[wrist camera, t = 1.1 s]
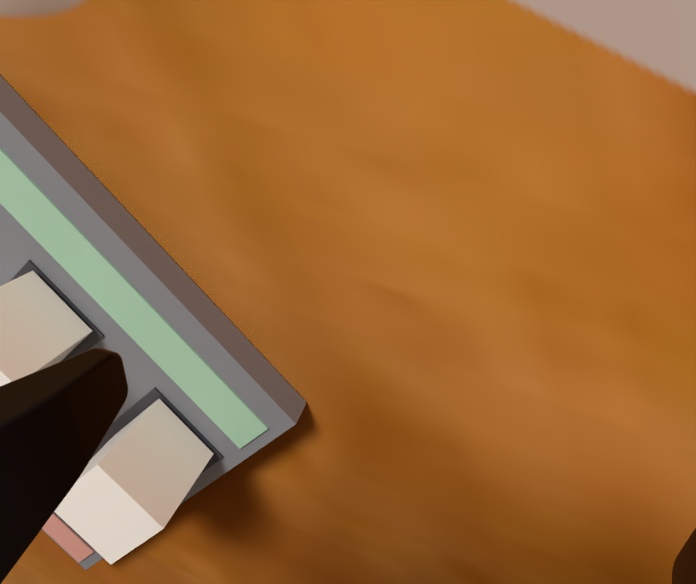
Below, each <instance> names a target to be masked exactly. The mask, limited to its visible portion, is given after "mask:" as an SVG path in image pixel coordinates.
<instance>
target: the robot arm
mask: <svg viewBox="0 0 696 584" xmlns="http://www.w3.org/2000/svg"><path fill="white" fill-rule="evenodd" d="M127 395H128V384H127V379H126V374H125V370H124V365H123V361H122V358H121V356H120V355H119V354H118V353H116V352H113V351H110V350H107V349H103V348H93V349H90V350H88V351H85V352H83V353H81V354H78V355H76V356H73V357H71V358H68V359H66V360H63V361H61V362H59V363H56V364H54V365H51V366H49V367H46V368H44V369H41V370H39V371H37V372H34V373H32V374H29V375H27V376H24V377H22V378H20V379H17V380H15V381H12V382H10V383H7V384H5V385H2V386H0V584H1V583H2V581H3V580H4V579H5V577H6V576H7V575H8V573H9V572H10V570H11V569H12V568H13V566H14V565H15V564H16V562H17V561H18V560H19V558H20V557H21V556H22V554H23V553H24V552H25V550H26V549H27V548H28V546H29V545H30V544H31V542H32V541H33V540H34V538H35V537H36V536H37V534H38V533H39V531H40V530H41V529H42V527H43V526H44V525H45V523H46V522H47V521H48V519H49V518H50V517H51V515H52V514H53V513H54V511H55V510H56V509H57V507H58V506H59V505H60V503H61V502H62V501H63V499H64V498H65V497H66V495H67V494H68V492H69V491H70V490H71V488H72V487H73V486H74V484H75V483H76V481H77V480H78V478H79V477H80V475H81V474H82V472H83V471H84V469H85V468H86V466H87V465H88V463H89V461H90V460H91V458H92V456H93V455H94V453H95V451H96V450H97V448H98V446H99V445H100V443H101V441H102V440H103V438H104V436H105V435H106V433H107V431H108V430H109V428H110V426H111V425H112V423H113V421H114V420H115V418H116V416H117V415H118V413H119V411H120V410H121V408H122V406H123V404H124V403H125V401H126V398H127ZM672 584H696V528H695V530H694V531H693V532H692V534H691V535H690V537H689V539H688V540H687V542H686V543H685V545H684V546H683V548H682V549H681V551H680V552H679V554H678V555H677V557H676V559H675V562H674V566H673V571H672Z"/></svg>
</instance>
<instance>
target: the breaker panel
mask: <svg viewBox="0 0 696 584" xmlns="http://www.w3.org/2000/svg"><path fill="white" fill-rule="evenodd" d="M31 271H34V272H35V273H36V274H37V275H38V276H39V277H40V278H41V279H42V280H43V281H44V282H45V283H46V284H47V285H48V286H49V287H50V288H51V289H52V290H53V291H54V292H55V293H56V294H57V296H58V297H59V298H60V299H61V300H62V301H63V302H64V303H65V304H66V305H67V306H68V307H69V308H70V309H71V310H72V311H73V312H74V313H75V314H76V315H77V316H78V317H79V318H80V319H81V320H82V321H83V322H84V323H85V324H86V325H87V326H88V327H89V328H90V329H91V330H92V332H91V333H90V334H89V335H88V336H87V337H86V338H85V339H84V340H82V341H81V342H80V343H79V344H78V345H77V346H76V347H75V348H74V349H73V350H72V351H71V352H70V353H69V354H68V355H67V356H66V357H65V358H64V359H63V360H66V359H68V358H71V357H73V356H76V355H78V354H81V353H83V352H85V351H88V350H90V349H93V348H103V349H107V350H110V351H113V352H116V353H118V354H119V355H120V356H121V358H122V361H123V365H124V370H125V374H126V379H127V384H128V395H127V398H126V401H125V403H124V404H123V406H122V408H121V410H120V411H119V413H118V415H117V416H116V418H115V420H114V421H113V423H112V425H111V426H110V428H109V430H108V431H107V433H106V435H105V436H104V438H103V440H102V441H101V443H100V445H99V446H98V448H97V450H96V451H95V453H94V455H93V456H92V458H93V457H94V456H95V455H96V454H97V452H98V451H99V450H100V449H101V448H102V447H103V446H104V445H105V444H106V443H107V442H108V441H109V440H110V439H111V438H112V437H113V436H114V435H115V434H116V433H118V432H119V431H120V430H121V429H122V428H124V427H125V426H126V425H127V424H129V423H130V422H131V421H132V420H133V419H135V418H136V417H137V416H138V415H139V414H141V413H142V412H143V411H144V410H146V409H147V408H148V407H149V406H150V405H152V404H153V403H154V402H155V401H156V400H158V399H160V400H161V401H162V402H163V403H164V404H165V405H166V406H167V407H168V408H169V409H170V410H171V411H172V412H173V413H174V414H175V415H176V416H177V417H178V418H179V419H180V420H181V421H182V422H183V423H184V424H185V425H186V426H187V427H188V428H189V429H190V430H191V431H192V432H193V433H194V434H195V435H196V436H197V437H198V438H199V439H200V440H201V442H202V443H203V444H204V445H205V446H206V447H207V448H208V449H209V450H210V451H211V452H212V453H213V456H212V457H211V459H210V460H209V462H208V463H207V465H206V466H205V468H204V469H203V471H202V472H201V474H200V475H199V477H198V478H197V480H196V481H195V483H194V484H193V486H192V487H191V489H190V490H189V491H188V493H187V494H186V496H185V497H184V499H183V500H182V502H181V503H180V504H182V503H183V502H184V501H186V500H187V499H189V498H190V497H192V496H193V495H195V494H196V493H197V492H199V491H200V490H202V489H203V488H205V487H206V486H208V485H209V484H210V483H212V482H213V481H215V480H216V479H218V478H219V477H221V476H222V475H223V474H225V473H226V472H228V471H229V470H231V469H232V468H234V467H235V466H236V465H238V464H239V463H241V462H242V461H244V460H245V459H247V458H248V457H249V456H251V455H252V454H254V453H255V452H257V451H258V450H260V449H261V448H262V447H264V446H265V445H267V444H268V443H270V442H271V441H272V440H274V439H275V438H277V437H278V436H280V435H281V434H283V433H284V432H285V431H287V430H288V429H290V428H291V427H293V426H294V425H296V423H297V421H298V419H299V417H300V415H301V413H302V411H303V409H304V407H305V405H306V403H307V402H306V401H305V400H304V399H303V398H302V397H301V396H300V395H299V394H298V393H297V392H296V391H295V390H294V388H293V387H292V386H291V385H290V384H289V383H288V382H287V381H286V380H285V379H284V378H283V377H282V376H281V375H280V374H279V372H278V371H277V370H276V369H275V368H274V367H273V366H272V365H271V364H270V363H269V362H268V361H267V360H266V359H265V357H264V356H263V355H262V354H261V353H260V352H259V351H258V350H257V349H256V348H255V347H254V346H253V345H252V344H251V343H250V341H249V340H248V339H247V338H246V337H245V336H244V335H243V334H242V333H241V332H240V331H239V330H238V329H237V328H236V326H235V325H234V324H233V323H232V322H231V321H230V320H229V319H228V318H227V317H226V316H225V315H224V314H223V313H222V312H221V310H220V309H219V308H218V307H217V306H216V305H215V304H214V303H213V302H212V301H211V300H210V299H209V298H208V297H207V296H206V294H205V293H204V292H203V291H202V290H201V289H200V288H199V287H198V286H197V285H196V284H195V283H194V282H193V281H192V279H191V278H190V277H189V276H188V275H187V274H186V273H185V272H184V271H183V270H182V269H181V268H180V267H179V266H178V265H177V263H176V262H175V261H174V260H173V259H172V258H171V257H170V256H169V255H168V254H167V253H166V252H165V251H164V250H163V249H162V247H161V246H160V245H159V244H158V243H157V242H156V241H155V240H154V239H153V238H152V237H151V236H150V235H149V234H148V232H147V231H146V230H145V229H144V228H143V227H142V226H141V225H140V224H139V223H138V222H137V221H136V220H135V219H134V218H133V216H132V215H131V214H130V213H129V212H128V211H127V210H126V209H125V208H124V207H123V206H122V205H121V204H120V203H119V201H118V200H117V199H116V198H115V197H114V196H113V195H112V194H111V193H110V192H109V191H108V190H107V189H106V188H105V187H104V185H103V184H102V183H101V182H100V181H99V180H98V179H97V178H96V177H95V176H94V175H93V174H92V173H91V172H90V171H89V169H88V168H87V167H86V166H85V165H84V164H83V163H82V162H81V161H80V160H79V159H78V158H77V157H76V156H75V154H74V153H73V152H72V151H71V150H70V149H69V148H68V147H67V146H66V145H65V144H64V143H63V142H62V141H61V140H60V138H59V137H58V136H57V135H56V134H55V133H54V132H53V131H52V130H51V129H50V128H49V127H48V126H47V125H46V123H45V122H44V121H43V120H42V119H41V118H40V117H39V116H38V115H37V114H36V113H35V112H34V111H33V110H32V109H31V107H30V106H29V105H28V104H27V103H26V102H25V101H24V100H23V99H22V98H21V97H20V96H19V95H18V94H17V93H16V91H15V90H14V89H13V88H12V87H11V86H10V85H9V84H8V83H7V82H6V81H5V80H4V79H3V78H2V76H1V75H0V286H2V285H4V284H6V283H8V282H10V281H12V280H14V279H16V278H18V277H20V276H22V275H24V274H27V273H29V272H31ZM63 360H62V361H63ZM92 458H91V459H92ZM42 530H43V531H44V532H45V533H46V534H47V535H48V536H50V537H51V538H52V539H53V540H54V541H55V542H56V543H57V544H58V545H59V546H60V547H61V548H62V549H64V550H65V551H66V552H67V553H68V554H69V555H70V556H71V557H72V558H73V559H74V560H75V561H76V562H78V563H79V564H80V565H81V566H82V567H83V568H84V569H85V570H86V569H88V568H89V567H91V566H92V565H94V564H95V563H97V562H98V561H99V560H101V559H102V558H103V557H102V556H101V555H100V554H99V553H98V552H97V551H96V550H95V549H94V548H92V547H91V546H90V545H89V544H88V543H87V542H86V541H85V540H84V539H83V538H82V537H81V536H80V535H79V534H78V533H76V532H75V531H74V530H73V529H72V528H71V527H70V526H69V525H68V524H67V523H66V522H65V521H64V520H63V519H62V518H61V517H59V516H58V515H57V514H56V513H55V512H54V513H53V514H52V515H51V517H50V518H49V519H48V521H47V522H46V523H45V525H44V526H43V527H42Z"/></svg>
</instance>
